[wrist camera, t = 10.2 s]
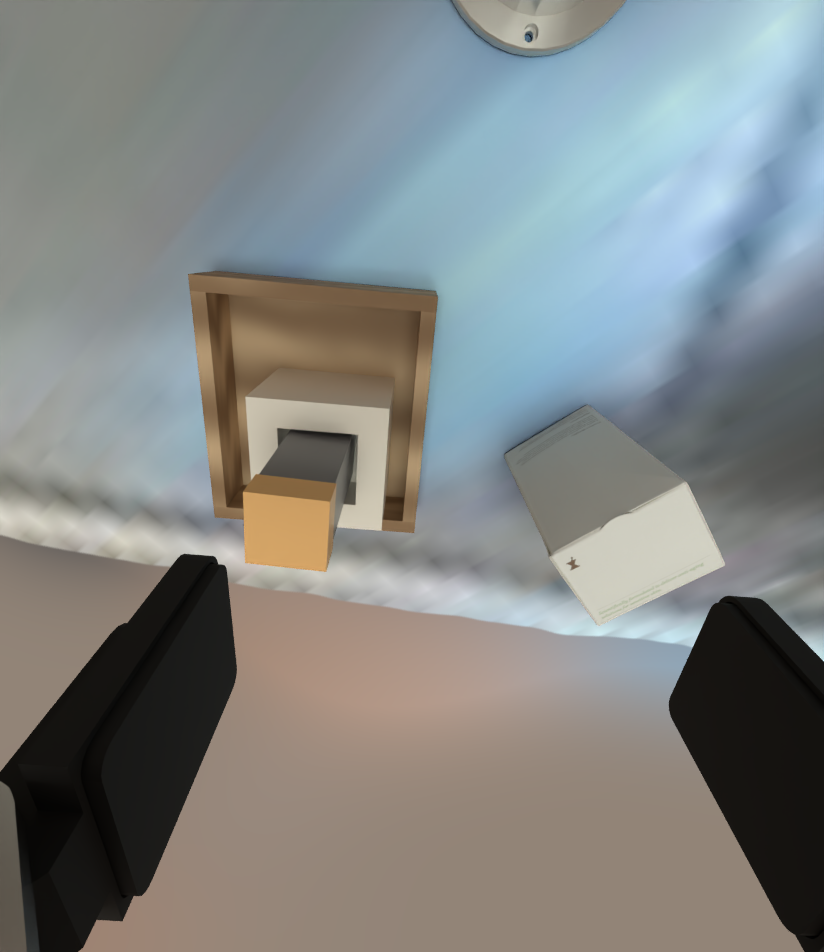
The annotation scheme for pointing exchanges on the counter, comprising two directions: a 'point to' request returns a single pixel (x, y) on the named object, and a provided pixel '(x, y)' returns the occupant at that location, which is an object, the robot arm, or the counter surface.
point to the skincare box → (611, 515)
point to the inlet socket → (329, 429)
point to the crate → (309, 365)
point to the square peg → (298, 500)
